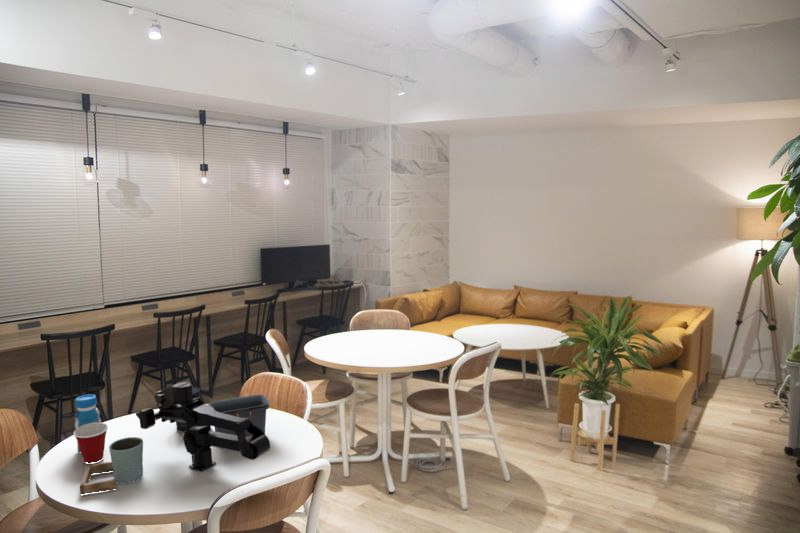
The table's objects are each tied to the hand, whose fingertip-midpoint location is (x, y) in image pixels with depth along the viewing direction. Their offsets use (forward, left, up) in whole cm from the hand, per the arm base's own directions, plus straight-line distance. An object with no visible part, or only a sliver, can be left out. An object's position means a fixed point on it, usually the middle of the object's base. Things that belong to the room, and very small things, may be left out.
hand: (147, 409), depth 212 cm
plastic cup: (+12, +14, -16) cm, 25 cm away
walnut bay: (-5, +22, -16) cm, 28 cm away
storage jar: (+7, -23, -16) cm, 29 cm away
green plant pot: (-10, +16, -16) cm, 25 cm away
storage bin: (-21, -24, -17) cm, 36 cm away
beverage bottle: (+22, +9, -16) cm, 29 cm away
